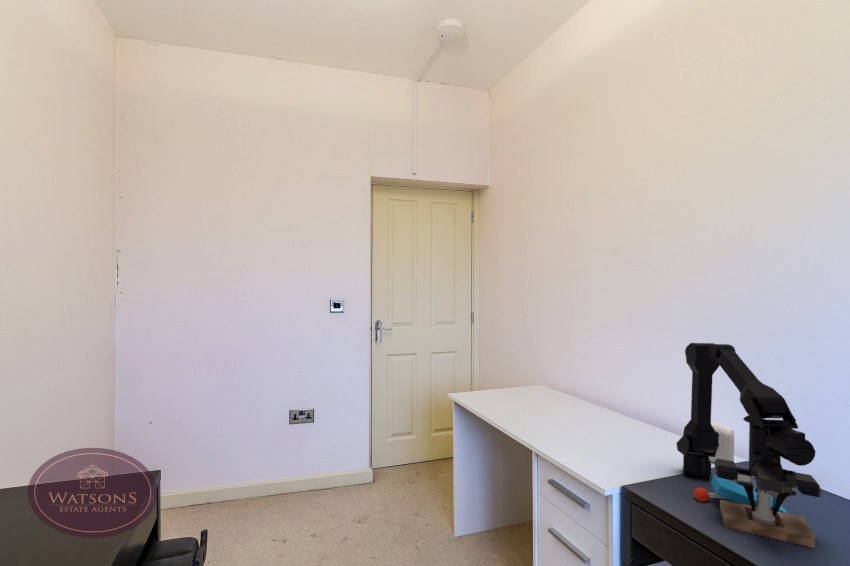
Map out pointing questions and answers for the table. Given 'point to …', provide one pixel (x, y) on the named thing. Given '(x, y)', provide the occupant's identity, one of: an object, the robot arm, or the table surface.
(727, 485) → the lever
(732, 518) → the walnut socket board
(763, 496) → the rook chess piece
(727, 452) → the photo printer
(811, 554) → the table surface
